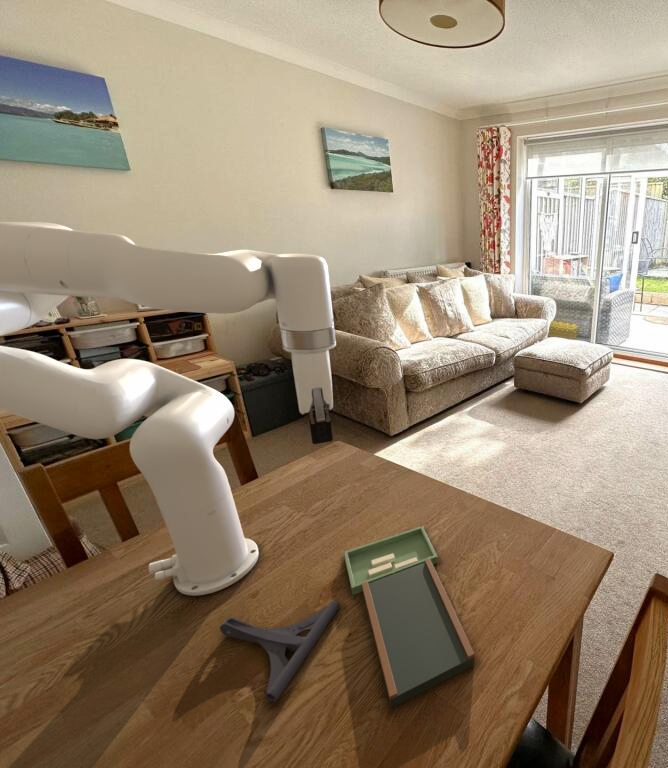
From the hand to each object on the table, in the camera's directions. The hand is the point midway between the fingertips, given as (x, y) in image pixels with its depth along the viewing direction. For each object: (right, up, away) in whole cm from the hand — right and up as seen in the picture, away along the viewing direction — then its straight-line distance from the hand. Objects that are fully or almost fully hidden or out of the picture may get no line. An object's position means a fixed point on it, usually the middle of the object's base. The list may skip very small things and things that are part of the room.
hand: (322, 440), depth 69 cm
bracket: (-4, -29, -8) cm, 31 cm away
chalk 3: (+14, -24, +4) cm, 28 cm away
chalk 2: (+9, -24, +3) cm, 25 cm away
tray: (+10, -24, +7) cm, 26 cm away
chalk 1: (+9, -23, +5) cm, 25 cm away
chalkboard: (+17, -29, -6) cm, 34 cm away
